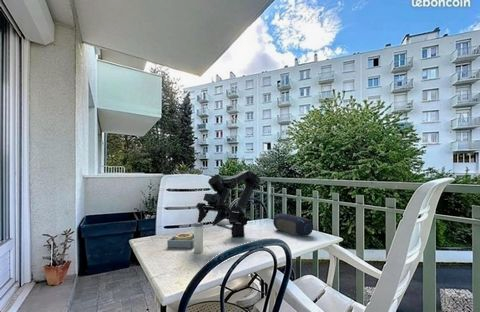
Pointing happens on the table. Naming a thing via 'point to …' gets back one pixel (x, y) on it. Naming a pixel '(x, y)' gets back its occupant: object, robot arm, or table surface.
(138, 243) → the table surface
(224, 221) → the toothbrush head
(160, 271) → the table surface
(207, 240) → the table surface
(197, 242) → the cream and grey cylinder
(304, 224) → the portable speaker
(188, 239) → the walled box
